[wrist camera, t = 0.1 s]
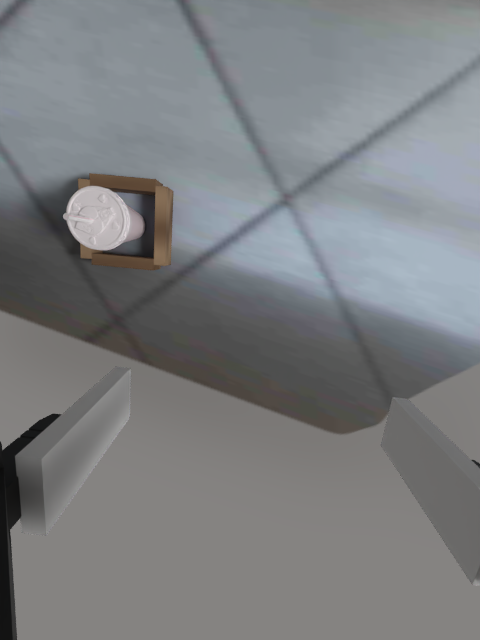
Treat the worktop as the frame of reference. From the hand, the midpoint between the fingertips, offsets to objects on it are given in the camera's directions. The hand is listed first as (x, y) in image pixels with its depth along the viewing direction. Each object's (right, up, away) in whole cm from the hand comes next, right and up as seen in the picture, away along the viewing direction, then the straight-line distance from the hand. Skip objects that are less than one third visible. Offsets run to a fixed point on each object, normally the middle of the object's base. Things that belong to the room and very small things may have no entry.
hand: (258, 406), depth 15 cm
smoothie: (-15, +17, +25) cm, 34 cm away
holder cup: (-15, +17, +25) cm, 34 cm away
